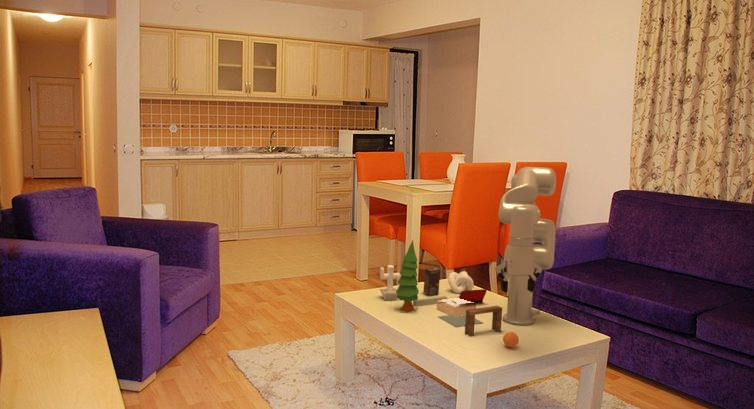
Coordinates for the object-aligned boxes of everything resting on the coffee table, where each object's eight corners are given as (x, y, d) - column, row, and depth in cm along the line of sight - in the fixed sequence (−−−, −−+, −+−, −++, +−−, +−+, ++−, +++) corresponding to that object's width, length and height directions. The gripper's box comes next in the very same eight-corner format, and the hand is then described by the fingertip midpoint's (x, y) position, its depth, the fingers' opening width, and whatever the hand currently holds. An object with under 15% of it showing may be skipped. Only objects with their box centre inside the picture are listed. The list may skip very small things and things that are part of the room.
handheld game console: (475, 298, 273) (475, 282, 272) (486, 305, 263) (487, 289, 262) (449, 300, 269) (450, 284, 268) (460, 307, 259) (461, 290, 258)
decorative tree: (422, 310, 252) (425, 240, 248) (407, 315, 245) (410, 242, 241) (405, 305, 259) (408, 236, 255) (390, 309, 252) (392, 239, 248)
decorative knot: (457, 296, 275) (458, 277, 274) (440, 289, 285) (441, 271, 283) (476, 293, 281) (477, 274, 280) (459, 286, 291) (460, 268, 290)
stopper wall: (444, 301, 266) (444, 295, 266) (446, 302, 265) (447, 297, 264) (412, 305, 259) (413, 299, 259) (415, 306, 258) (415, 300, 257)
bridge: (464, 333, 226) (466, 309, 225) (496, 328, 233) (497, 305, 232) (469, 336, 224) (470, 312, 223) (500, 331, 230) (502, 307, 229)
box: (429, 296, 273) (430, 270, 271) (423, 294, 276) (424, 268, 275) (439, 295, 276) (440, 269, 274) (433, 292, 280) (434, 267, 278)
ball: (511, 343, 218) (512, 328, 217) (521, 348, 213) (522, 333, 212) (499, 345, 215) (500, 330, 215) (509, 350, 211) (510, 335, 210)
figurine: (402, 300, 265) (403, 267, 263) (381, 301, 263) (382, 268, 261) (397, 295, 272) (398, 263, 270) (377, 296, 270) (378, 264, 268)
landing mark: (464, 313, 250) (464, 313, 250) (483, 323, 239) (483, 322, 239) (437, 317, 244) (437, 316, 244) (455, 327, 233) (455, 326, 233)
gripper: (538, 240, 212) (534, 288, 214) (492, 240, 208) (489, 289, 210) (549, 244, 205) (545, 293, 207) (502, 244, 201) (498, 294, 202)
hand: (517, 291), depth 208 cm, fingers open, 9 cm apart
